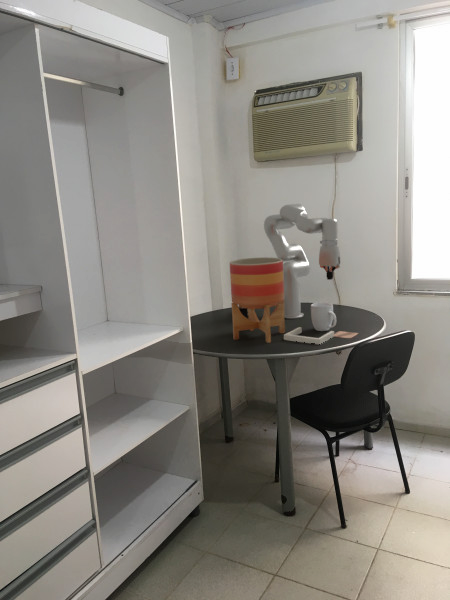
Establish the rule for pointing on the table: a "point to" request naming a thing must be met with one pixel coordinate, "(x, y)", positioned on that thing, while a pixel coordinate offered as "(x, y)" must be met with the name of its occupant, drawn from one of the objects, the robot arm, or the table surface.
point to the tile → (345, 334)
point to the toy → (244, 312)
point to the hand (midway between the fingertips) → (329, 279)
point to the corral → (293, 337)
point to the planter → (257, 294)
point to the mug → (322, 316)
